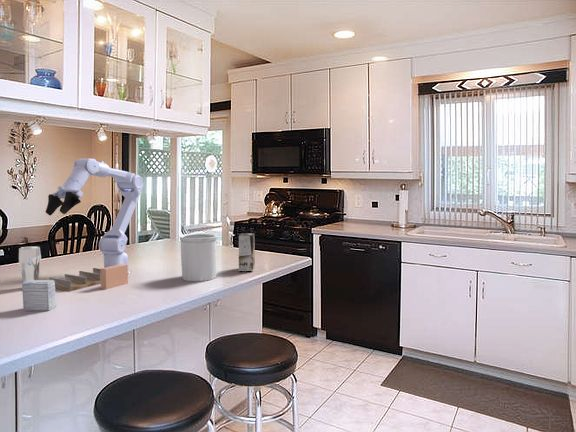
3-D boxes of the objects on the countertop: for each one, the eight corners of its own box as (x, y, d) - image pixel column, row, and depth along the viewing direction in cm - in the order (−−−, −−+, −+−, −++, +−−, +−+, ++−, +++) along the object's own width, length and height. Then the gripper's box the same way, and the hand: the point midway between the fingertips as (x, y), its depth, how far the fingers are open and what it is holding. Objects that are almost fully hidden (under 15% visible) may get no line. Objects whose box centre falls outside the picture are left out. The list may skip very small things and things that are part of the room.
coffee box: (253, 272, 187) (253, 235, 186) (238, 272, 187) (238, 235, 186) (255, 267, 196) (255, 232, 195) (241, 267, 197) (240, 232, 195)
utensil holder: (209, 283, 168) (209, 238, 166) (174, 280, 171) (173, 237, 169) (222, 274, 182) (222, 233, 181) (189, 272, 185) (189, 232, 184)
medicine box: (56, 306, 136) (55, 279, 135) (49, 311, 132) (48, 283, 131) (31, 306, 136) (29, 279, 135) (22, 311, 131) (21, 283, 131)
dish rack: (94, 275, 178) (94, 267, 178) (116, 279, 172) (116, 270, 172) (47, 286, 160) (46, 277, 160) (70, 291, 154) (69, 281, 154)
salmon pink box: (122, 282, 168) (122, 263, 167) (128, 283, 166) (127, 264, 166) (101, 288, 159) (100, 268, 158) (106, 289, 157) (105, 269, 157)
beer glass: (17, 290, 154) (15, 249, 153) (23, 286, 161) (21, 246, 160) (39, 289, 156) (37, 248, 155) (44, 285, 163) (42, 245, 161)
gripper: (53, 178, 161) (33, 207, 153) (79, 175, 154) (60, 205, 147) (67, 190, 166) (48, 219, 158) (93, 187, 159) (75, 217, 152)
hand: (55, 213), depth 153 cm, fingers open, 7 cm apart
